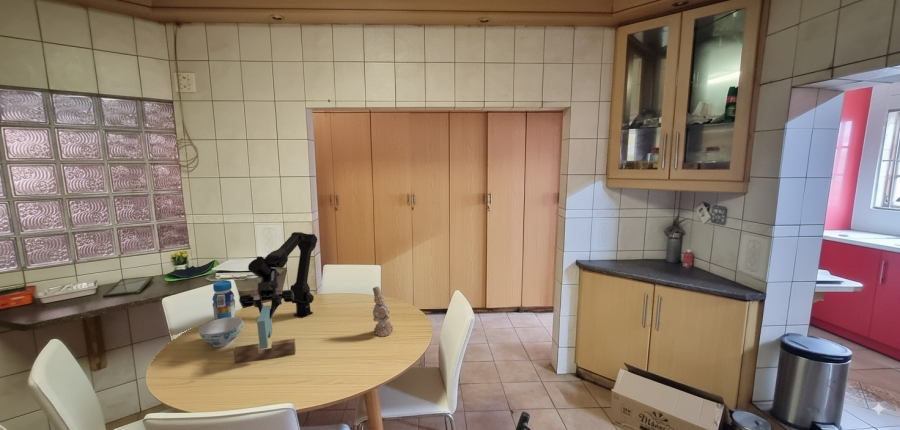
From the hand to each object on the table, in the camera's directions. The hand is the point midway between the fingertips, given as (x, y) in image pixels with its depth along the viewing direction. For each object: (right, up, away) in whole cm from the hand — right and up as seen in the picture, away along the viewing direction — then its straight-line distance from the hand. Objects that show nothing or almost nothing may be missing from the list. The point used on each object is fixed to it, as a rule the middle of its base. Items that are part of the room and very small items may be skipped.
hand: (266, 318), depth 134 cm
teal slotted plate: (+1, -7, -1) cm, 8 cm away
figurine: (+42, -11, +17) cm, 46 cm away
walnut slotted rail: (+1, -14, -3) cm, 14 cm away
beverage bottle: (-30, -10, +24) cm, 40 cm away
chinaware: (-22, -12, +8) cm, 26 cm away
